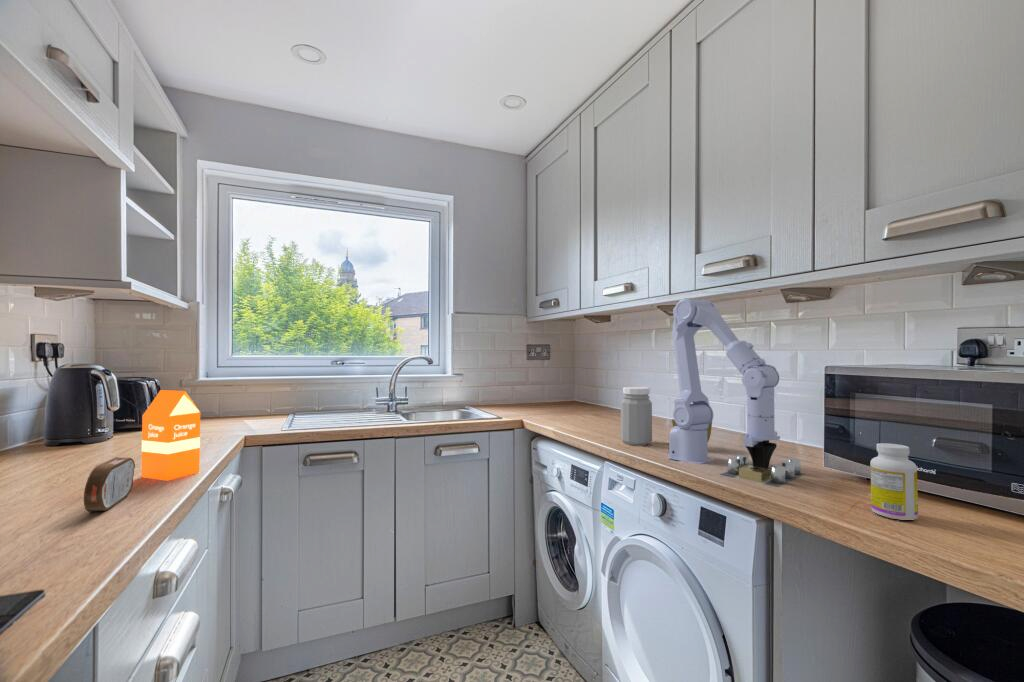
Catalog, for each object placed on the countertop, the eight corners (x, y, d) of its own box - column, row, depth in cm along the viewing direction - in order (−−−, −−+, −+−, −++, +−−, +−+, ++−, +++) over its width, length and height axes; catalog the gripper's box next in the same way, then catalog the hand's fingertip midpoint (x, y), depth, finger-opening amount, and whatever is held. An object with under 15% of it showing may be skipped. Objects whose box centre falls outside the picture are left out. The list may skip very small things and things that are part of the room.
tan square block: (738, 477, 108) (738, 468, 108) (748, 474, 111) (748, 464, 111) (761, 482, 104) (761, 472, 104) (770, 478, 107) (770, 468, 107)
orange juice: (167, 480, 104) (168, 392, 105) (140, 477, 107) (142, 391, 108) (200, 472, 112) (201, 389, 112) (174, 469, 115) (176, 388, 115)
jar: (615, 441, 153) (615, 386, 153) (640, 439, 156) (640, 386, 156) (631, 447, 143) (631, 389, 144) (658, 445, 146) (658, 388, 147)
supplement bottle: (897, 509, 88) (896, 442, 88) (928, 522, 81) (927, 449, 81) (861, 509, 88) (861, 441, 88) (890, 522, 81) (889, 449, 81)
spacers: (724, 472, 112) (724, 458, 112) (749, 463, 121) (749, 450, 121) (782, 484, 102) (782, 469, 102) (805, 474, 111) (805, 459, 111)
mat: (719, 476, 110) (719, 474, 110) (749, 465, 121) (749, 463, 121) (777, 488, 100) (777, 487, 100) (805, 475, 111) (805, 473, 111)
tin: (118, 493, 95) (119, 452, 95) (137, 492, 96) (138, 451, 96) (80, 519, 81) (81, 471, 81) (102, 516, 82) (104, 469, 82)
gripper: (766, 420, 102) (766, 482, 102) (790, 415, 111) (791, 471, 111) (733, 417, 108) (734, 475, 107) (759, 411, 117) (760, 465, 117)
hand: (761, 473), depth 110 cm, fingers closed
